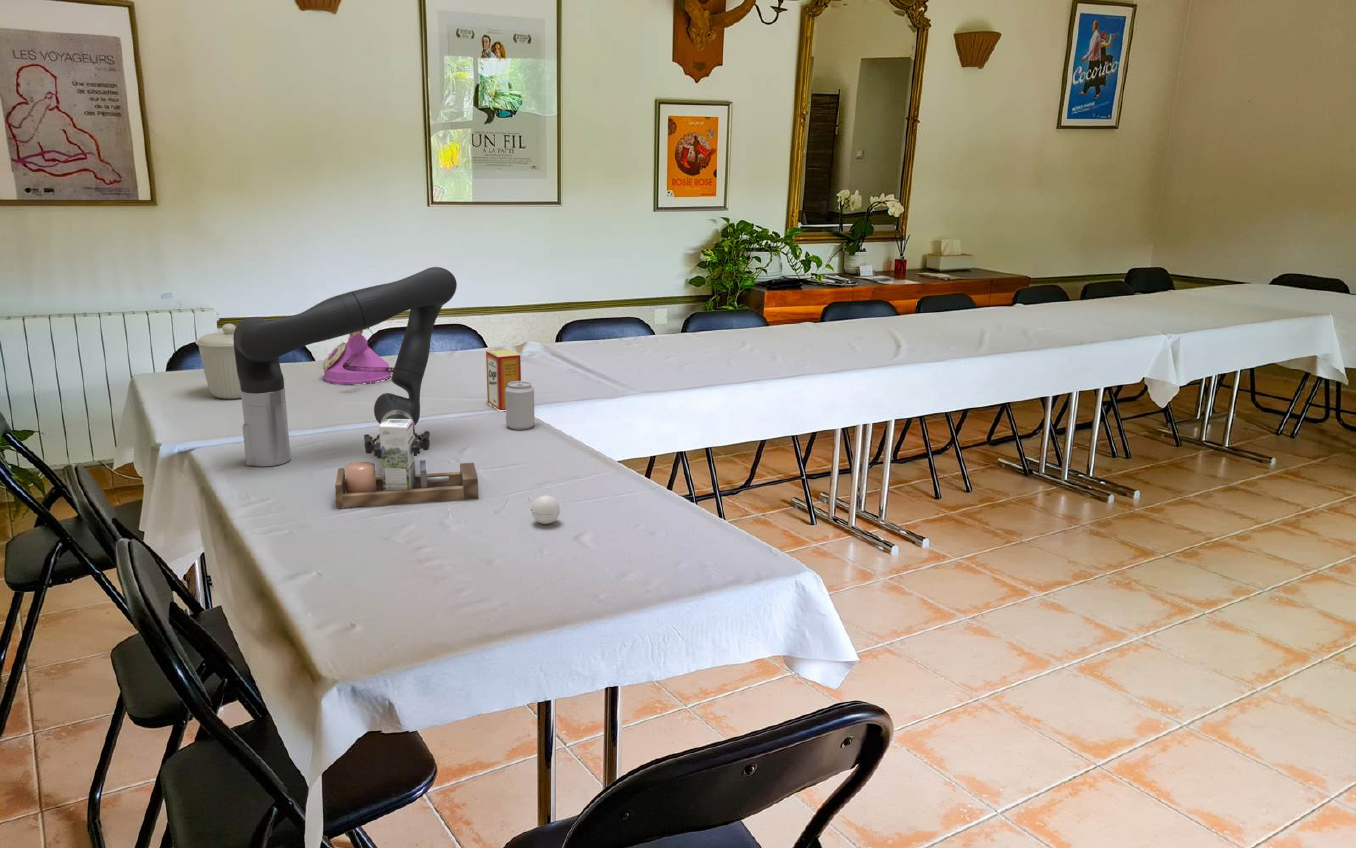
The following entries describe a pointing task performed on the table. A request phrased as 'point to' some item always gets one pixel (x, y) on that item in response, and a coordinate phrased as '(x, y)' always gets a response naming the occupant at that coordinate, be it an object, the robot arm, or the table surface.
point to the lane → (413, 490)
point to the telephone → (355, 362)
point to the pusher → (428, 479)
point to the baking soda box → (501, 375)
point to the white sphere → (545, 509)
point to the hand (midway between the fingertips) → (397, 452)
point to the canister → (220, 363)
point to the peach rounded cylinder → (360, 477)
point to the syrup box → (397, 454)
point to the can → (519, 405)
